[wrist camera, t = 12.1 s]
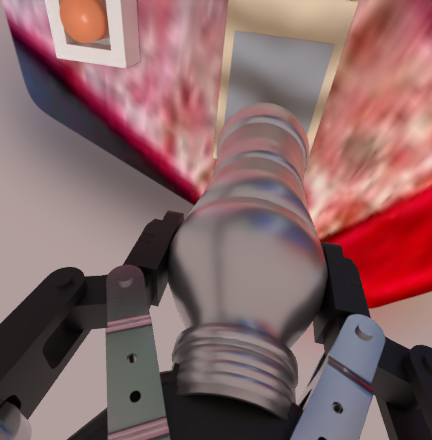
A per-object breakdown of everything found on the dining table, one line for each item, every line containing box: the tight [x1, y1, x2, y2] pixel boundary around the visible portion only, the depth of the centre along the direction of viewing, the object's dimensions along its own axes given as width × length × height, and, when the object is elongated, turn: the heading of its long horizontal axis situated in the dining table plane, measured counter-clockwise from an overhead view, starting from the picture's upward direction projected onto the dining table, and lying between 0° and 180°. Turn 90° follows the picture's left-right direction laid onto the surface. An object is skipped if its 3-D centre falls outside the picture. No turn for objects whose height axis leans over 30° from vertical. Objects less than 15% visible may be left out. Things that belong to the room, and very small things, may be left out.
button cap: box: [60, 0, 110, 43], centre depth 30 cm, size 4×4×4 cm
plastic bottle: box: [167, 103, 328, 421], centre depth 16 cm, size 6×7×20 cm
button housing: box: [45, 0, 140, 68], centre depth 31 cm, size 8×8×4 cm
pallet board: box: [213, 0, 358, 159], centre depth 34 cm, size 18×12×2 cm, turn 174°
